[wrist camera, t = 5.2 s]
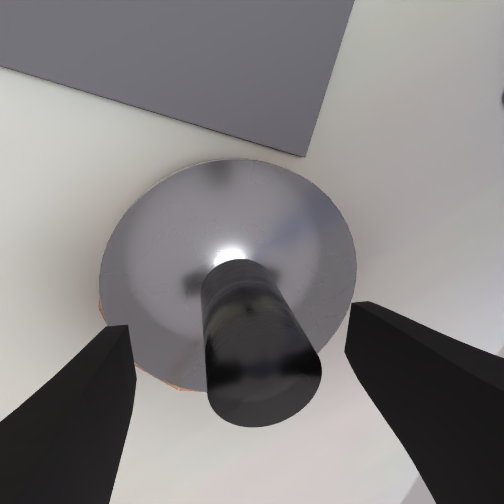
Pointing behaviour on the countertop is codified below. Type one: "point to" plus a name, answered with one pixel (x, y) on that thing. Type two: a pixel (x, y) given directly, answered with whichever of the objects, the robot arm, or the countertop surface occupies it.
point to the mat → (188, 58)
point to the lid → (232, 285)
